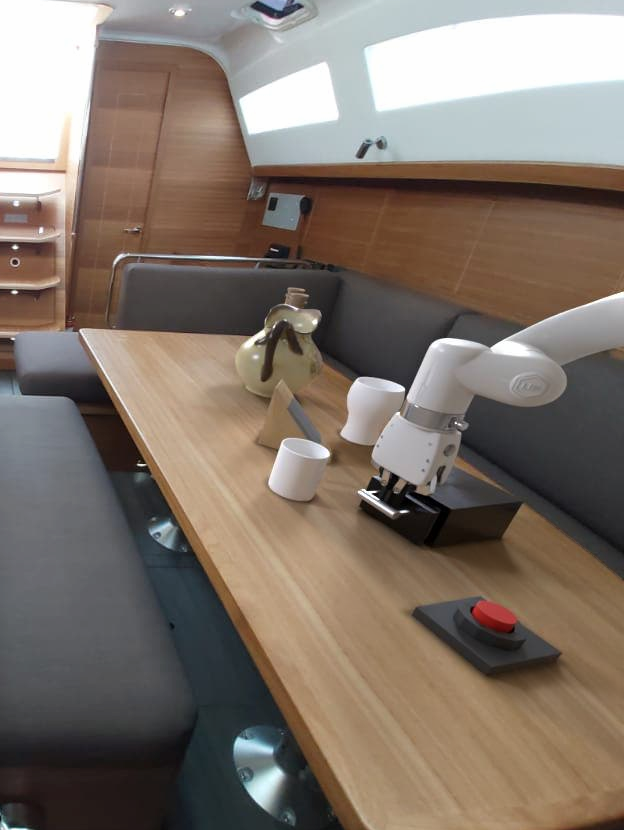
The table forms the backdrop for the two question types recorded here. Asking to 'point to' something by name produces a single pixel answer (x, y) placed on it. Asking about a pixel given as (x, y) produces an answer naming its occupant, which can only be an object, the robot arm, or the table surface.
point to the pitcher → (281, 352)
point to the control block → (484, 638)
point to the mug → (298, 469)
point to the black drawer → (402, 513)
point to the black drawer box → (470, 510)
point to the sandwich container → (288, 421)
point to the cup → (371, 408)
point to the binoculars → (296, 298)
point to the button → (494, 616)
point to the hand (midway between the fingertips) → (386, 506)
